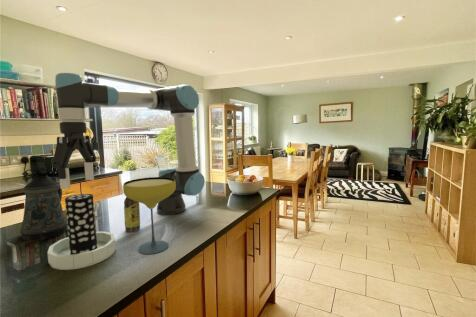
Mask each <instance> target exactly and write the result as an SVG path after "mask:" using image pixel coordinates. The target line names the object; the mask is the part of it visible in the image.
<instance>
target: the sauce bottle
mask: <svg viewBox="0 0 476 317" xmlns="http://www.w3.org/2000/svg"><path fill="white" fill-rule="evenodd" d="M123 205H124V206H123V210H124V214H123V215H124V226H125V232H129V233H131V232H136V231H138V230H140V228H141V216H140V215H141V213H140V210H141V208H140V202H137V201H134V200H131V199H129V198H128V197H126V196H125V199H124V202H123Z"/></svg>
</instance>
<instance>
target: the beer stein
mask: <svg viewBox="0 0 476 317" xmlns="http://www.w3.org/2000/svg"><path fill="white" fill-rule="evenodd" d="M22 191H23V193H24V194H25V200H24V201H25V202H24V211H23V219H22V222H21V226H20V228H19V229H20V230H19V233H20V234H21V235H20V236H21V238H22V239H23V240H24V241H41V240H42V241H43V240H47V239H50V238H54V237H57V236H59V235H61V234H64V233H65V232H66V231H68V226H67V217H66V216H65V213H64V210H63V206H62V205H63V204H62V199H63V189H61V188H60V182H57V179H56V178H55V177H52V176H49V175H48V174H40V175H36V176H35V175H34V178H33V179H32V180H31V181H29V182H28V183H27V184H25V186H24V187H23V188H22ZM46 238H47V239H46Z"/></svg>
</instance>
